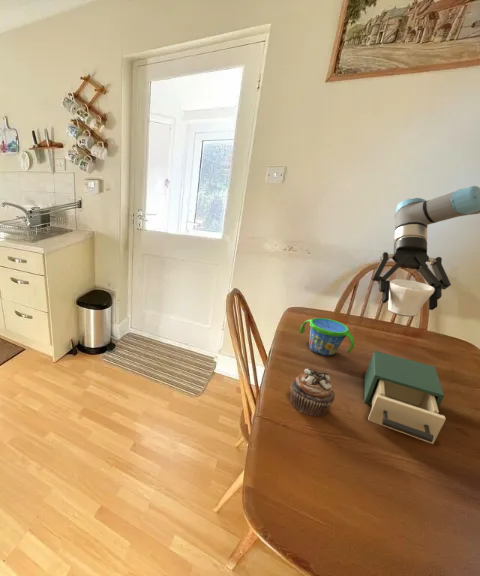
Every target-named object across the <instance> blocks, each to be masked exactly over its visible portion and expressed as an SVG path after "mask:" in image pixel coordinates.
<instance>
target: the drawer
mask: <svg viewBox="0 0 480 576" xmlns="http://www.w3.org/2000/svg"><path fill="white" fill-rule="evenodd" d="M439 413H440V411H439V407H437V403H436V400H435V396H434V395H431V394H428V393H425V392H421V391H418V390H415V389H411V388H408V387H405V386H401V385H398V384H395V383H391V382H388V381H385V380H381V379H377V382H376V385H375V387H374V390H373V392H372V405H371V409H370V412H369V413H368V414H369V415H368V417H367V421H369V422H372V423H374V424H377V425H379V426H382V427H385V428H387V429H390V430H393V431H396V432H398V433H401V434H403V435H407V436H410V437H413V438H415V439H417V440H421V441H423V442H425V443H429V444H432V445H434V443H435V442H436V439H437V437H438V435H439V434H440V432H441V429H442V428H443V426H444V424H445V422H446V416H445V415H444V414H439Z"/></svg>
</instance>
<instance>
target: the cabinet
mask: <svg viewBox="0 0 480 576" xmlns="http://www.w3.org/2000/svg"><path fill="white" fill-rule="evenodd" d="M377 379H381V380H385V381H388V382H391V383H395V384H398V385H401V386H405V387H408V388H411V389H415V390H418V391H421V392H425V393H428V394H431V395H434V396H435V400H436V403H437V407H438V408H440V405H441V404H442V401H443V399H444V397H445V394H444V390H443V386H442V384H441V381H440V377H439V374H438V372H437V369H436V366H435V365H430V364H427V363H424V362H419V361H415V360H412V359H407V358H405V357H404V358H403V357H400V356H396V355H393V354H388V353H385V352H381V351H378V350H377V351H376V350H373V353H372V356H371V358H370V361H369V363H368V366H367V369H366V372H365V374H364V394H363V395H364V397H363V400H364V401H363V402H364V404H367V405H369V406H372V392H373V390H374V387H375V385H376V382H377Z"/></svg>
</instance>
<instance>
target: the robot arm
mask: <svg viewBox="0 0 480 576" xmlns="http://www.w3.org/2000/svg"><path fill="white" fill-rule="evenodd" d="M478 214H480V187H479V186H477V185H472V186H468V187H464V188H459V189H456V190H455V191H451V192H449V193H446V194H444V195H440V196H437V197H435V198H432V199H428V200H426V199H425V198H421V197H414V198H407V199H404V200H402V201H400V202H399V203H398V204H397V205H396V208H395V213H394V237H393V238H394V239H393V242H394V243H393V253H389V252H387V251H383V253H382V254H381V256H379V257H380V259H379V260H380V262H379V264H378V266H377V268H376V269H375V272H374V274H373V275H372V277H371V281H372V282H377V284H378V292H379V293H382V296H381V303H382V304H386V303H387V302H389V285H390V281H391V280H388V279H389V278H390V277H391V276H392V275H393V274H394V273H395V272H396V271H397V270H398V269H399V268H401V269H409V270H415V271H416V272H417V273H419V275H420V276H421V277H422V278H423V279H424V280H425V281H426V284H427V285H430V286H432V287H433V288H435V291H434V293H433V294H432V295H431V296H430V297H429V299H428V310H429V311H433V310H435V309H437V308H438V300H440V299H441V298H442V296H443V295H442V290H447V289H448V288H449V287H450V286H452V283H451V281H450V279H449V277H448V275H447V272H446V271H445V268H444V266H443V264H442V261H443V258H442V257H441V256H437V257H430V256H429V255H428V226H429V225H431V224H432V225H433V224H436V223H439V222H444V221H447V220H450V219H454V218H459V217H465V216H470V215H471V216H472V215H478ZM390 260H392V261H393V262H394V263H395V264H394V265H393V266H392V267H391V268H390V269H389V270H388V271H386V273H385V274H384V275H383V276H381V274H382V272H383V270H384V268H385V266H386V265H387V262H389V261H390ZM427 263H429V266H431V269H432V270H431V269H430V268H429V266H428V264H427Z"/></svg>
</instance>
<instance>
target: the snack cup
mask: <svg viewBox="0 0 480 576" xmlns="http://www.w3.org/2000/svg"><path fill="white" fill-rule="evenodd" d="M307 323H309V326H310V329H309V341H308V348H309V349H310V350H311V352H314V353H316V354H320V355H321V356H323V357H324V356H329V357H330V356H334V355H335V354H336V353H337V351H338V350H339V347H340V346H341V344H342V343H343V341H344V340H345V338H346V337H347V338H348V340H349V343H350V346H349V347H348V350H347V351H346V353H347V354H349V353H350V352H352V351H353V349H354V347H355V338H354V335H353V334H352V333H351V332H350V329H349V327H348V326H347V325H345V324H344V323H342V322H340V321H338V320H335V319H332V318H331V319H330V318H325V317H314V318H311V319H307V320H305V321H304V322H303V323H302V324H301V326H300V328H299V333H300V334H301V335H303V334H304V333H305V329H306V327H305V326H306V324H307Z"/></svg>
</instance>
